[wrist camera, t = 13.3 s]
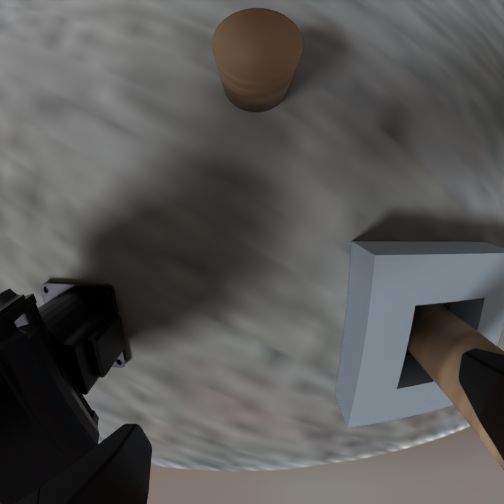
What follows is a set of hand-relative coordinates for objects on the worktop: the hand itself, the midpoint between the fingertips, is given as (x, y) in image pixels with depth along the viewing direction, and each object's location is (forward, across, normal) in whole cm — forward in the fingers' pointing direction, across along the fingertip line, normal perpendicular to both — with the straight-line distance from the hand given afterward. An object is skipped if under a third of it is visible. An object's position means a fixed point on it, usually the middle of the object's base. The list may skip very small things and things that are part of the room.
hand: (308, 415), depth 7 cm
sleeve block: (+13, -10, +6) cm, 17 cm away
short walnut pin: (+13, -2, -12) cm, 18 cm away
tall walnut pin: (+13, -10, +6) cm, 17 cm away
